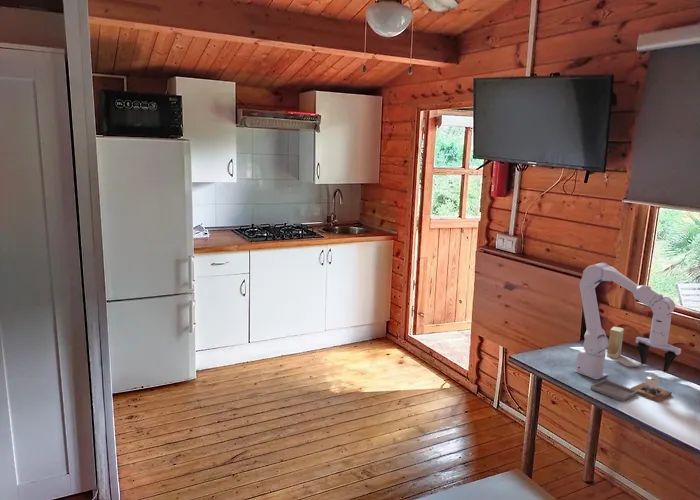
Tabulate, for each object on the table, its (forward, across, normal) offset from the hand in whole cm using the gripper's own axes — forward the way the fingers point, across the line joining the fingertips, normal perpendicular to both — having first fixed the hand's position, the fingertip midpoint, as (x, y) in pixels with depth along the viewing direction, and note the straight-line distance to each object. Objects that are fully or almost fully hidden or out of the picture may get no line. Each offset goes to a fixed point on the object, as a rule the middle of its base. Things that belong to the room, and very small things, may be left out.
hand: (654, 367), depth 190 cm
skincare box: (+10, +27, -26) cm, 39 cm away
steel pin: (+10, 0, 0) cm, 10 cm away
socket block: (+10, 0, 0) cm, 10 cm away
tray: (+10, +8, +11) cm, 17 cm away
